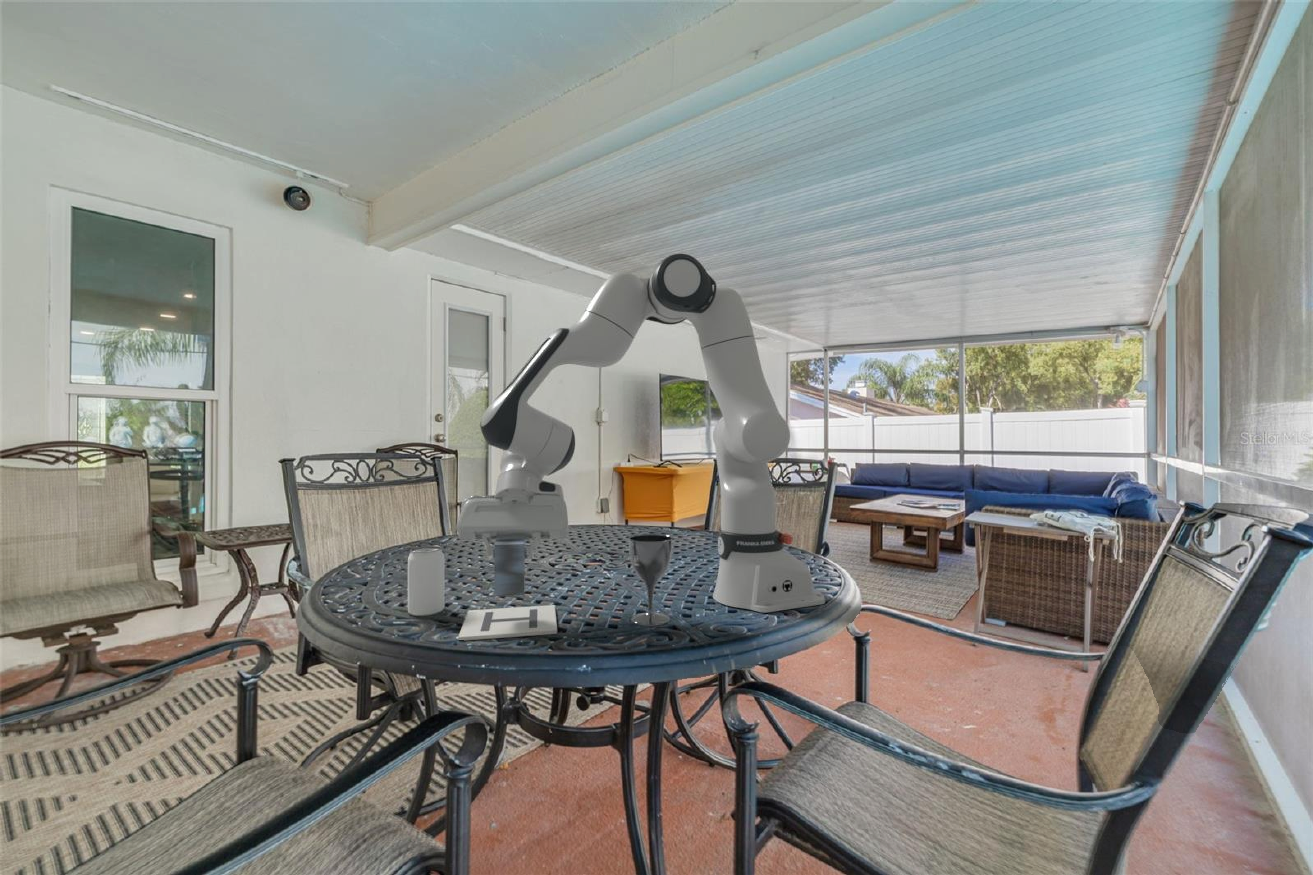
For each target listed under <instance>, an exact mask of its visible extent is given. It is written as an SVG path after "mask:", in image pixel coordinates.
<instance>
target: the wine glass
mask: <svg viewBox="0 0 1313 875" xmlns="http://www.w3.org/2000/svg"><path fill="white" fill-rule="evenodd" d="M628 552H629V553H628V554H629V558H630V559H629V560H630V564H631V567H632V569H633V571H634V572H635V573H636V574H637V576H638V577H639V578H640V580H641V581H642V582H643V583H644V585H645V588H646V592H647V602H648V609H647V612H641V613H638V614H634V615H633V616H631V619H630V621H631V622H632V623H633V624H636V625H638V626H645V627H654V626H656V627H657V626H661V625H665V624H667V623H669V622H670V621H671V618H670V617H669V615H667V614H664V613H660V612H654V610H653V608H654V606H653V605H654V603H653V601H654V593H655V589H656V585H657V583H658V582H659V580H660V579H661V578H662V577H663V576H664V575H665V573H666V572H667V571H668V569H669V567H670V564H671V560H672V555H673V554H672V553H673V536H671V535H669V534H663V533H639V534H638V533H637V534H633V535H630V536H629V537H628Z"/></svg>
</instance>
